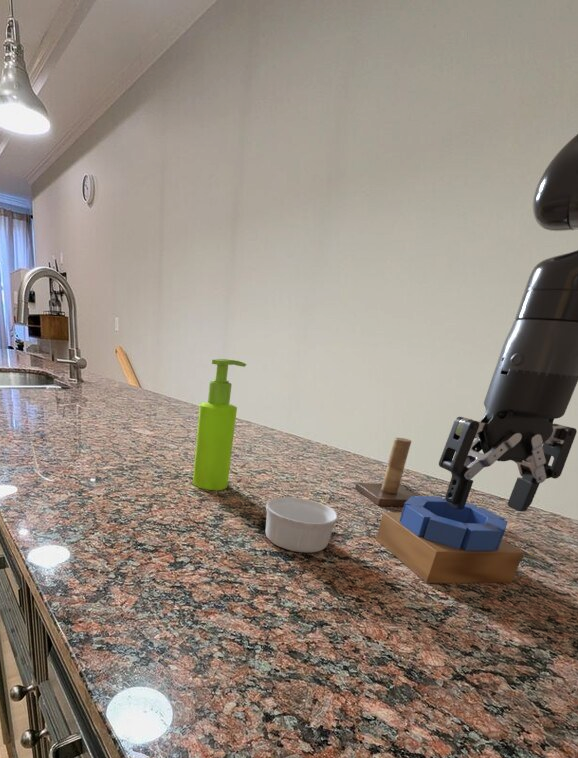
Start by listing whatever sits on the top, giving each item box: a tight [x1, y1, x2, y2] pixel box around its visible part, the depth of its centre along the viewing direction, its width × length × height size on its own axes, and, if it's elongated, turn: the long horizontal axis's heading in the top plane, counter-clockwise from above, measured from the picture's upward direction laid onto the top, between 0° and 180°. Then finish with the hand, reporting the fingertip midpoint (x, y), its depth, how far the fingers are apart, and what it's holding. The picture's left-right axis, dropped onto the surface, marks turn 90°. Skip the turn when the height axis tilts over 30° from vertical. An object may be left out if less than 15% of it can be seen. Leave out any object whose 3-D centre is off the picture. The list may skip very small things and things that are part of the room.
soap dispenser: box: [192, 358, 247, 491], centre depth 72 cm, size 6×7×20 cm
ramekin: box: [264, 496, 339, 554], centre depth 57 cm, size 9×9×4 cm
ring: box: [400, 495, 508, 551], centre depth 54 cm, size 11×11×2 cm
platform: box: [375, 511, 525, 584], centre depth 55 cm, size 11×11×4 cm
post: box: [354, 437, 417, 507], centre depth 75 cm, size 8×8×10 cm
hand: (485, 508), depth 54 cm, fingers open, 8 cm apart
